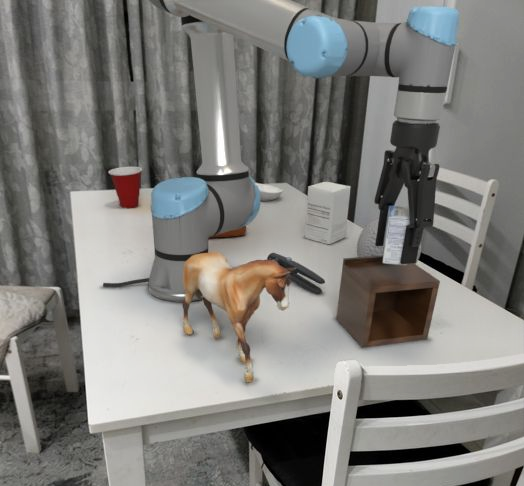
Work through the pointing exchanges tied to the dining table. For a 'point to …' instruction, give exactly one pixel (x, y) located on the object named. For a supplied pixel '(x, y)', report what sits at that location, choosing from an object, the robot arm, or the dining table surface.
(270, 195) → the spoon rest
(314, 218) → the white product box
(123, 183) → the plastic cup
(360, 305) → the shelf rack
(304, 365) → the dining table surface
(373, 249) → the decorative ball
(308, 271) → the can opener
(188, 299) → the horse figurine
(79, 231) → the dining table surface
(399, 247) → the medicine box
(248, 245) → the dining table surface
